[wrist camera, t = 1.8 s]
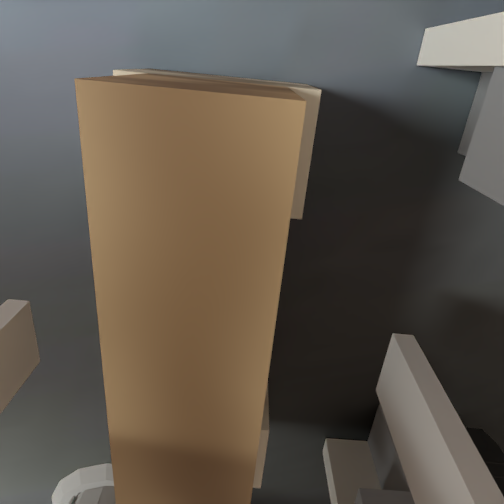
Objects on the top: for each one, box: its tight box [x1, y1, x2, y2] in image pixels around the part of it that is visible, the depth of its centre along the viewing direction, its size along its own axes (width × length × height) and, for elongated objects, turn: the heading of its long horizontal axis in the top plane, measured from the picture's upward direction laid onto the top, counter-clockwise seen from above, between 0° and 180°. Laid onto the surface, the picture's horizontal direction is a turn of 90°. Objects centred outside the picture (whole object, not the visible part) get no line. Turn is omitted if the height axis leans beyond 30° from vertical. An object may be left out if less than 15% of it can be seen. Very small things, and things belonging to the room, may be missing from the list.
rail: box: [75, 73, 307, 504], centre depth 13 cm, size 4×18×5 cm, turn 175°
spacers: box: [113, 69, 322, 488], centre depth 17 cm, size 6×18×4 cm, turn 175°
